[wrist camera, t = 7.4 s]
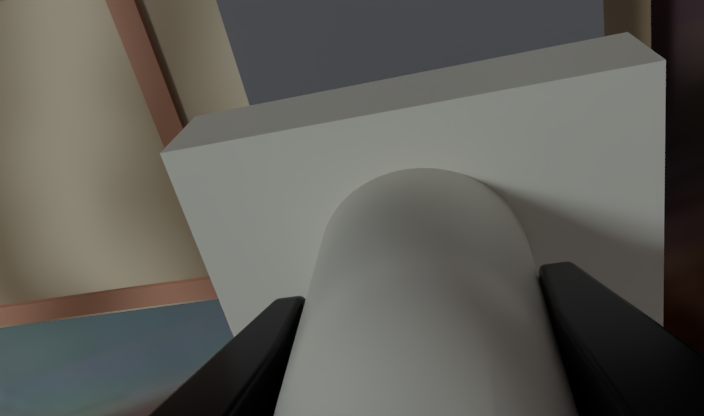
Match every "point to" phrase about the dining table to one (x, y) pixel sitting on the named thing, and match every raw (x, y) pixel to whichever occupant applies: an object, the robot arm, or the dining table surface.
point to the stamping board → (116, 148)
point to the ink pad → (387, 38)
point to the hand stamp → (434, 223)
